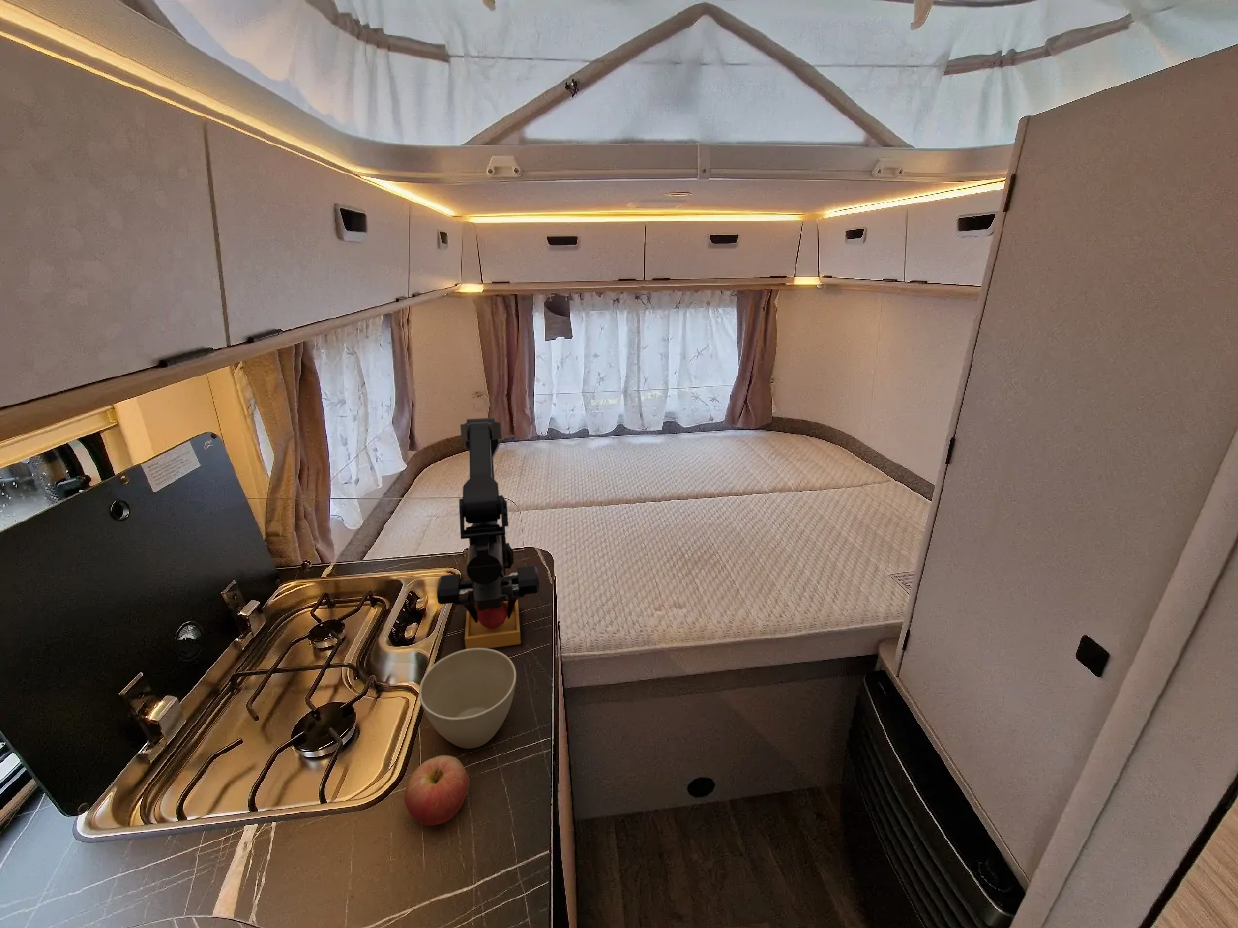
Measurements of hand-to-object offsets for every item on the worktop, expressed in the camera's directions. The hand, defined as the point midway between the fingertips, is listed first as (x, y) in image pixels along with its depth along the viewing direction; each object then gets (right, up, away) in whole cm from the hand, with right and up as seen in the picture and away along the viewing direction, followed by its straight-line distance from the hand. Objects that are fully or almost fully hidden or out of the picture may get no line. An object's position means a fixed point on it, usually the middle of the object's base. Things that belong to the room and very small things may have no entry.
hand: (492, 619), depth 103 cm
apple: (+1, -16, -32) cm, 36 cm away
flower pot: (+2, -11, -20) cm, 23 cm away
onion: (0, -2, +1) cm, 2 cm away
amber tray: (0, -2, +1) cm, 3 cm away
